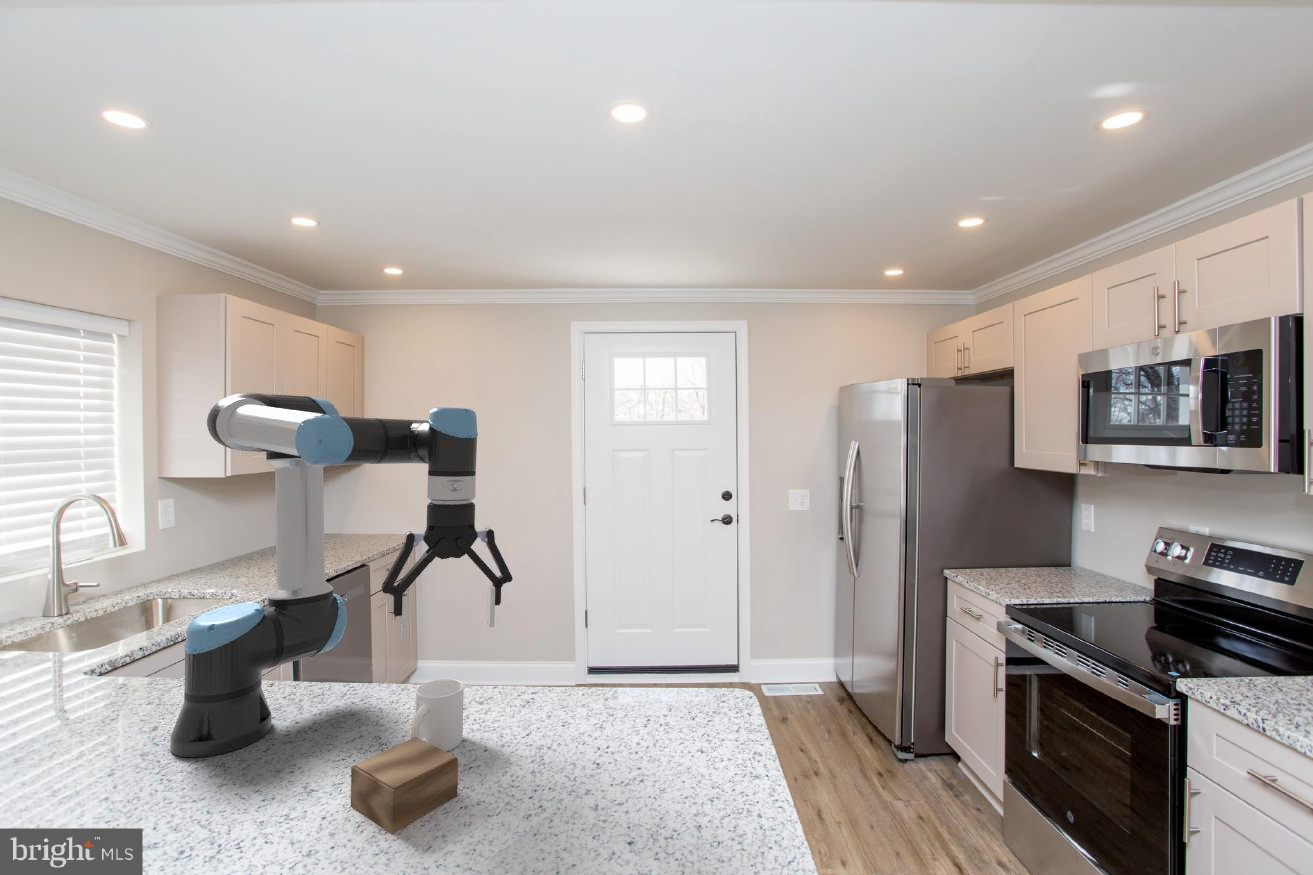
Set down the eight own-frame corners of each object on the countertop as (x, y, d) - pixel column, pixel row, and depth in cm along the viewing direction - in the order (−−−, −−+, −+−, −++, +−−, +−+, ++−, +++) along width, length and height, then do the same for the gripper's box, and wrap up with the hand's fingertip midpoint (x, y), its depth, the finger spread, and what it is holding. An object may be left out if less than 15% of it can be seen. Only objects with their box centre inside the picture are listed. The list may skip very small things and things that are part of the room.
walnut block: (350, 806, 89) (351, 764, 89) (415, 773, 98) (416, 735, 98) (392, 834, 83) (393, 789, 83) (457, 796, 92) (458, 755, 92)
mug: (431, 770, 99) (432, 709, 99) (390, 762, 101) (391, 702, 102) (471, 736, 111) (472, 681, 111) (433, 729, 113) (434, 676, 113)
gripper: (367, 506, 88) (364, 647, 88) (532, 501, 99) (529, 627, 99) (366, 501, 94) (363, 632, 94) (520, 497, 106) (518, 614, 106)
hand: (448, 630), depth 97 cm, fingers open, 13 cm apart
